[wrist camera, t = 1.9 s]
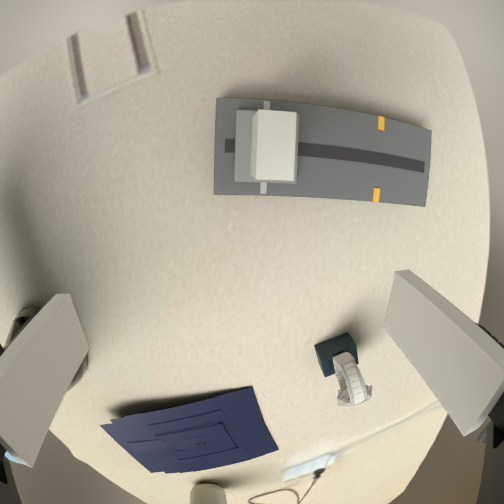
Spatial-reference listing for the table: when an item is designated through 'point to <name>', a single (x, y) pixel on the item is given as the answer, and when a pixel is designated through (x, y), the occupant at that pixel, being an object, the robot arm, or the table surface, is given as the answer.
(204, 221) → the table surface
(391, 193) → the console
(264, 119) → the fader tab
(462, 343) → the robot arm
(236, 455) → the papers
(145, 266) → the table surface
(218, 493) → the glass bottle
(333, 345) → the watch
